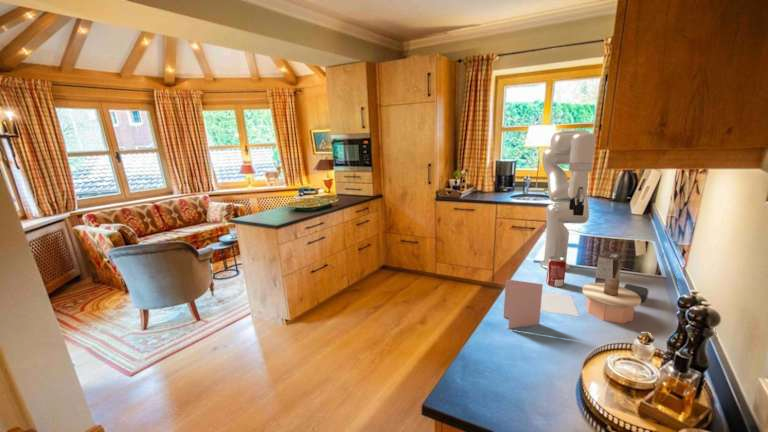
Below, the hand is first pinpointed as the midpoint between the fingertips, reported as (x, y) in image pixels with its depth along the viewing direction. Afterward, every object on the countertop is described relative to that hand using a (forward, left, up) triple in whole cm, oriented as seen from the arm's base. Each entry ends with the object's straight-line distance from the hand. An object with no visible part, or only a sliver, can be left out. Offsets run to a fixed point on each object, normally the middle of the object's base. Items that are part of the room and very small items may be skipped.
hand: (575, 212), depth 126 cm
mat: (+12, -7, -33) cm, 36 cm away
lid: (+14, +11, -26) cm, 32 cm away
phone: (-7, +25, -34) cm, 42 cm away
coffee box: (-4, +14, -34) cm, 37 cm away
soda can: (-6, -4, -34) cm, 34 cm away
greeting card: (+32, -18, -34) cm, 50 cm away
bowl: (+14, +11, -33) cm, 38 cm away
